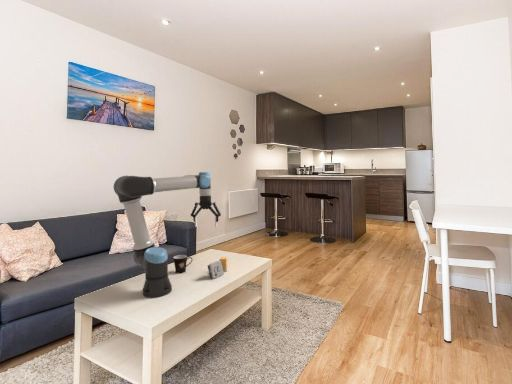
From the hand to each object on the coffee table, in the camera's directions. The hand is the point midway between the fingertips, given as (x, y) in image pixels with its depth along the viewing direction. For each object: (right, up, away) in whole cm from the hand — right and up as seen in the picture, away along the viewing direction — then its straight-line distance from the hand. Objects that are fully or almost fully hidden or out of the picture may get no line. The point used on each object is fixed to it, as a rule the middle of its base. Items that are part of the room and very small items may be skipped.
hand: (206, 226), depth 191 cm
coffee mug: (-15, -29, -3) cm, 33 cm away
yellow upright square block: (+12, -27, -3) cm, 30 cm away
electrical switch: (+8, -30, -13) cm, 33 cm away
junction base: (+12, -29, -3) cm, 31 cm away
